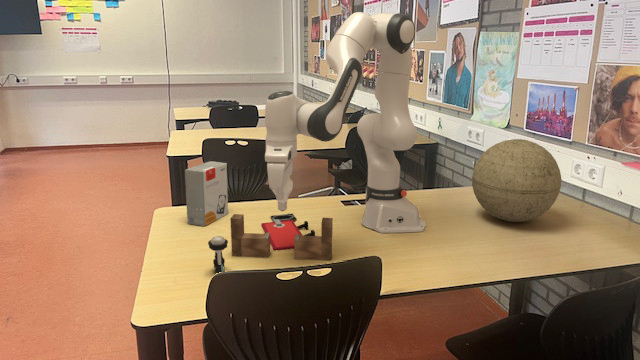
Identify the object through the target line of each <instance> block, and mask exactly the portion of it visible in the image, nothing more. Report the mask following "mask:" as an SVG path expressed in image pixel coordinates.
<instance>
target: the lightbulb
mask: <svg viewBox="0 0 640 360" xmlns="http://www.w3.org/2000/svg"><path fill="white" fill-rule="evenodd" d="M293 188H294V182H293V180H292V178H291V177H288V179H287V182H286V184H285V185H284V187H283V196H284V198H283V200H277V196H276V191H275V190H273V189H271V191H272V192H273V194H274V195H275V198H276V201H277V210H278V211H281V212H285V211H287V210H288V200H289V196H290V194H291V193H292V191H293Z"/></svg>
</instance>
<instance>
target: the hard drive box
mask: <svg viewBox="0 0 640 360" xmlns="http://www.w3.org/2000/svg"><path fill="white" fill-rule="evenodd" d="M227 166H228V163H227V162H220V161H211V160H210V161H206V162H203V163H201V164H198V165H195V166H192V167H190V168H186V169H185V170H184V178H185V180H184V181H185V199H186V215H187V216H186V221H187V224H189V225H195V226H200V227H206V226H208V225H210V224H212V223H213V222H215V221H218V220H219V219H221V218H223V217H225V216H227V215H228V214H229V201H228V199H229V198H228V197H229V196H228V171H227V170H228V168H227Z"/></svg>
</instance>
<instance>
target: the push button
mask: <svg viewBox="0 0 640 360" xmlns="http://www.w3.org/2000/svg"><path fill="white" fill-rule="evenodd" d="M228 244H229V241H228V239H226V238H225V237H224V236H222V235H219V236H218V235H217V236H212V237H211V239H210V240H209V241H208V242H207V245H208V247H209V249H210V250H211V251H214V259H213V260H212V261H213V262H212V263H213V269H214V273H215V274H216V273H219V272H223V273H224V271H226V266H225V262H226V260H225V258H224V257H223V252H222V251H224V250H225V249H226V248H228Z"/></svg>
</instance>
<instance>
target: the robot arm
mask: <svg viewBox="0 0 640 360" xmlns="http://www.w3.org/2000/svg"><path fill="white" fill-rule="evenodd" d="M415 36H416V26H415V22H414V20H413V18H412V17H411V16H409V15H407V14H405V13H400V12H398V13H393V12H392V13H391V12H382V13H375V14H367V13H366V12H363V11H357V12H354V13H351V14H350V16H348V17H347V18H346V19H345V20H344V22H343V23H342V24H341V25H340V27H339V28H338V29H337V31H336V32H335V34H334V36H333V37H332V39H331V41H330V42H329V44H328V46H327V48H326V51H325V58H326V62H327V65H328V66H329V67H330V68H331V70H332V71H333V72H334V73H335V74H337V78H336V81H335V83H334V84H333V85H334V86H333V87H332V89H331V92H330V94H329V96H328V98H327V100H326V101H325V102H323V103H315V102H311V101H307V100H306V99H305V100H304V99H302V98H300V97H298V96H297V95H296V94H295V93H294V92H293V91H290V90H283V91H276V92H273V93H271V94H269V96H267V99H266V101H265V109H264V110H265V112H264V124H265V129H266V135H265V152H264V161H265V163H266V162H267V163H266V169H267V181H268V186H269V189H270V190H272V189H273V190H275V191H276V195H275V197H276V196H277V198H276V201H277V200H283V198H284V196H283V187H284V185H285V184H286V182H287V179H288V177H290V176H291V175H292V173H293V170H294V169H293V164H294V163H293V158H294V157H296V156H298V147H297V146H298V141H297V140H298V139H297V138H298V135H303V136H306V137H309V138H313V139H316V140H318V141H320V142H330V141H332V140H334V139H335V138H336V137H337V136H338V135H339V134H340V133H341V130H342V128H343V124H344V122H345V121H344V120H345V117H346V114H347V111H348V108H349V107H350V103H351V102H352V99H353V96H354V94H355V92H356V90H357V88H358V84H359V83H360V79H361V77H362V72H363V67H362V66H363V65H362V64H363V60H364V59H365V57H366V55H367V53H368V52H369V50H375V51H376V50H378V51H379V53H380V56H379V62H378V68H377V73H376V81H375V86H374V97H375V99H376V100H377V102H378V105H379V111H380V112H379V113H377V112H373V113H372V112H371V113H367V114H364V115H363V116H361V117H360V119H359V120H358V122H357V125H356V130H357V131H356V133H357V134H358V136H359V137H360V139H361V141H362V143H363V146H364V150H365V154H366V155H365V156H366V160H367V184H366V187H365V202H366V203H365V208H364V213H363V217H362V219H361V225H363V226H364V227H366V228H368V229H371V230H375V231H376V232H378V233H382V234H391V233H397V234H398V233H420V232H424V231H425V229H426V222H425V220H424V219H423V218H421V217H420V213H419V212H420V211H419V209H418V207H417V205H416V204H414V203H413V202H412V201H411V200H410V199H408V198H407V195H408V193H407V191H406V189H405V188H404V186H402V185H400V176H401V165H400V163H399V160H398V159H397V158H396V155H395V152H394V151H408V150H410V149H412V147H413V146H414V145H415V144H416V141H417V137H418V130H417V127H416V125H415V124H414V123H413V121H412V119H411V118H412V117H411V115H410V109H409V89H410V83H411V74H412V66H413V65H412V64H413V52H412V44H413V42H414V39H415ZM290 178H291V177H290Z"/></svg>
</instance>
